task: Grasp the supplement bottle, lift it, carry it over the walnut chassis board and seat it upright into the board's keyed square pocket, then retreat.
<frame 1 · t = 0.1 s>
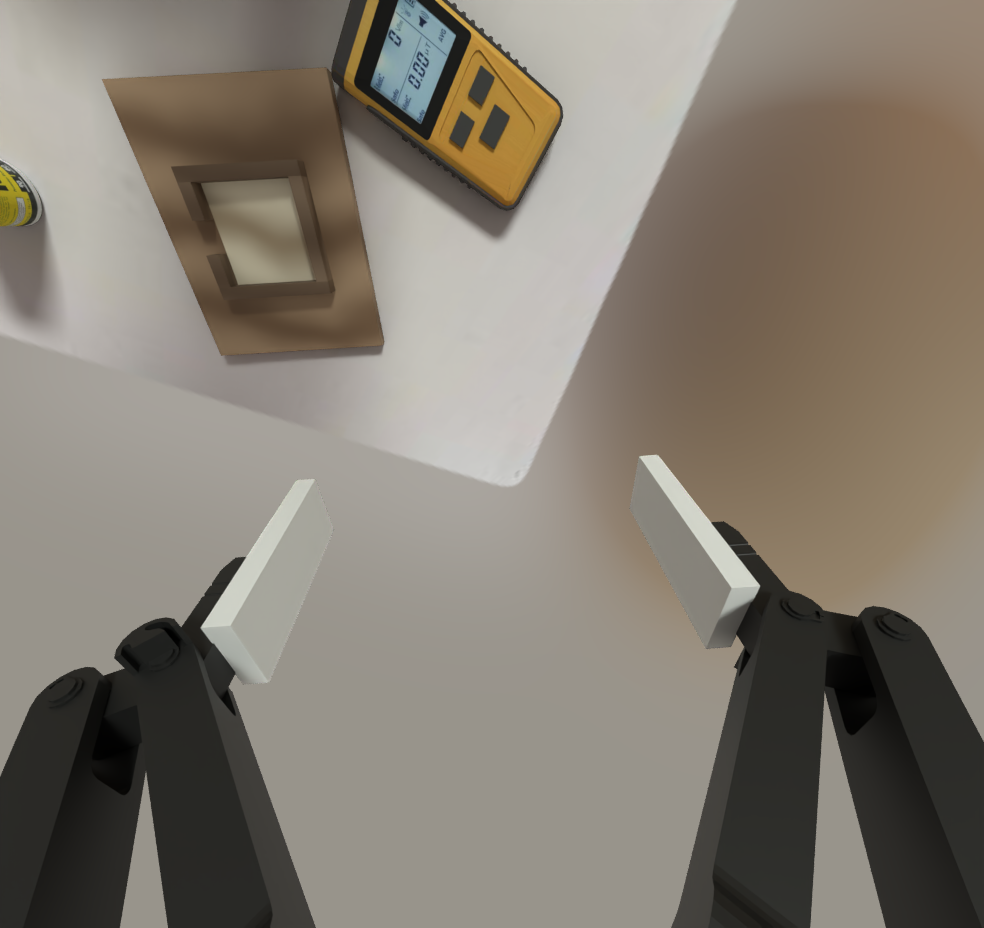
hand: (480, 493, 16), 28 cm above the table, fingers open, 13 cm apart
supplement bottle: (11, 191, 32), on the table
chassis board: (271, 233, 34), on the table
electronic device: (454, 103, 31), on the table
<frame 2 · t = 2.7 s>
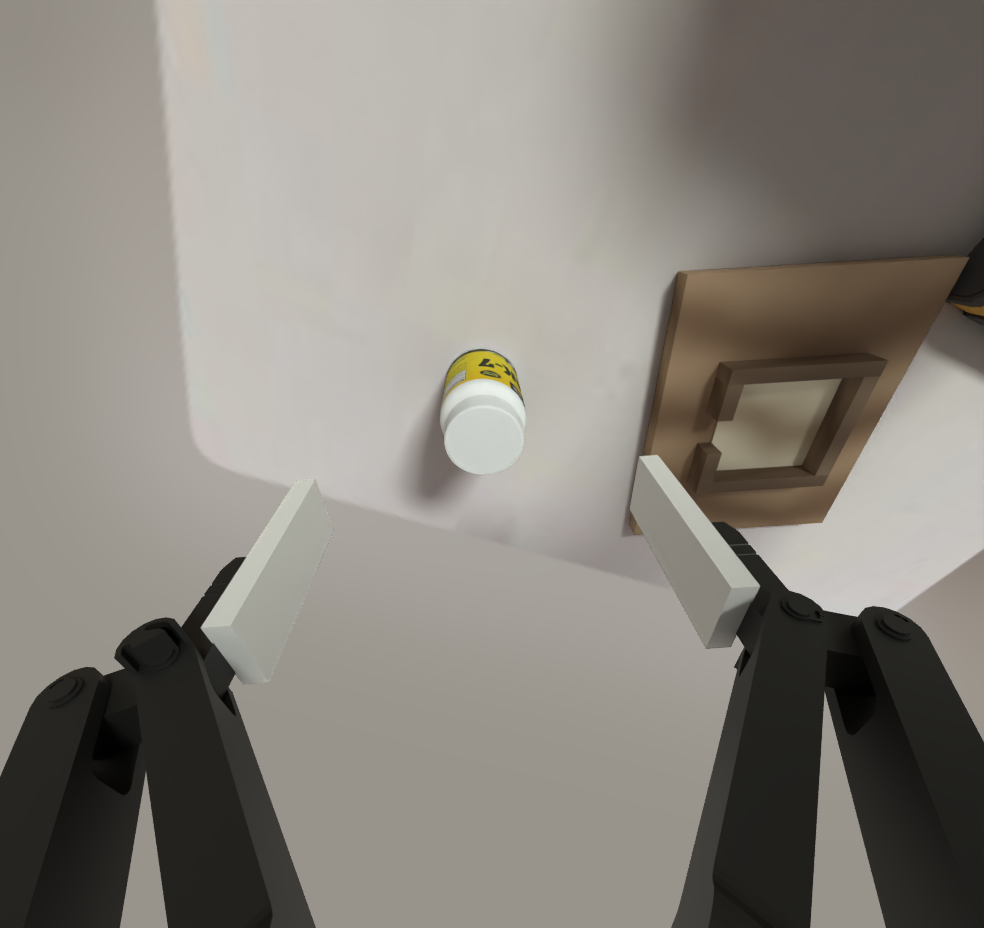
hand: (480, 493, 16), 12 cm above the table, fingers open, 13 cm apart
supplement bottle: (481, 379, 26), on the table
chassis board: (758, 416, 28), on the table
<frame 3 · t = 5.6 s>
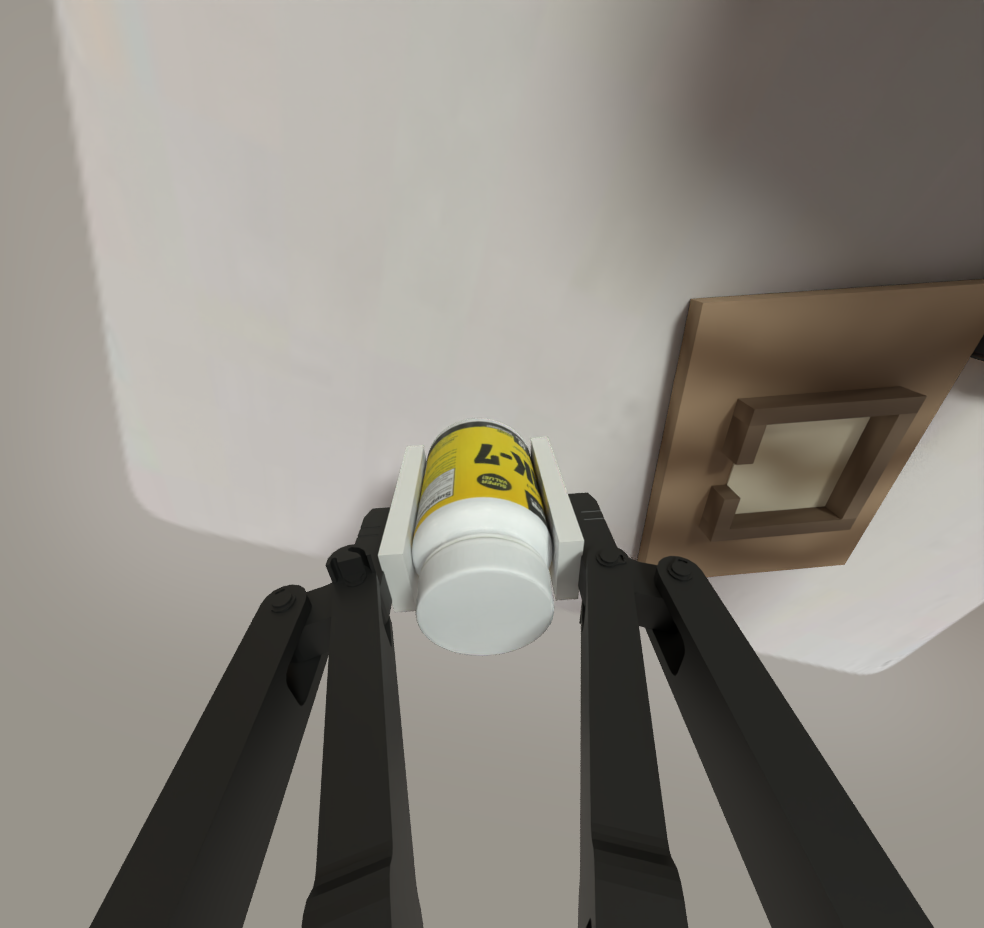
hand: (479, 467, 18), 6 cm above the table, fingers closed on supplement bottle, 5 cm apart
supplement bottle: (478, 458, 18), point 5 cm above the table, touching gripper
chassis board: (776, 453, 26), on the table
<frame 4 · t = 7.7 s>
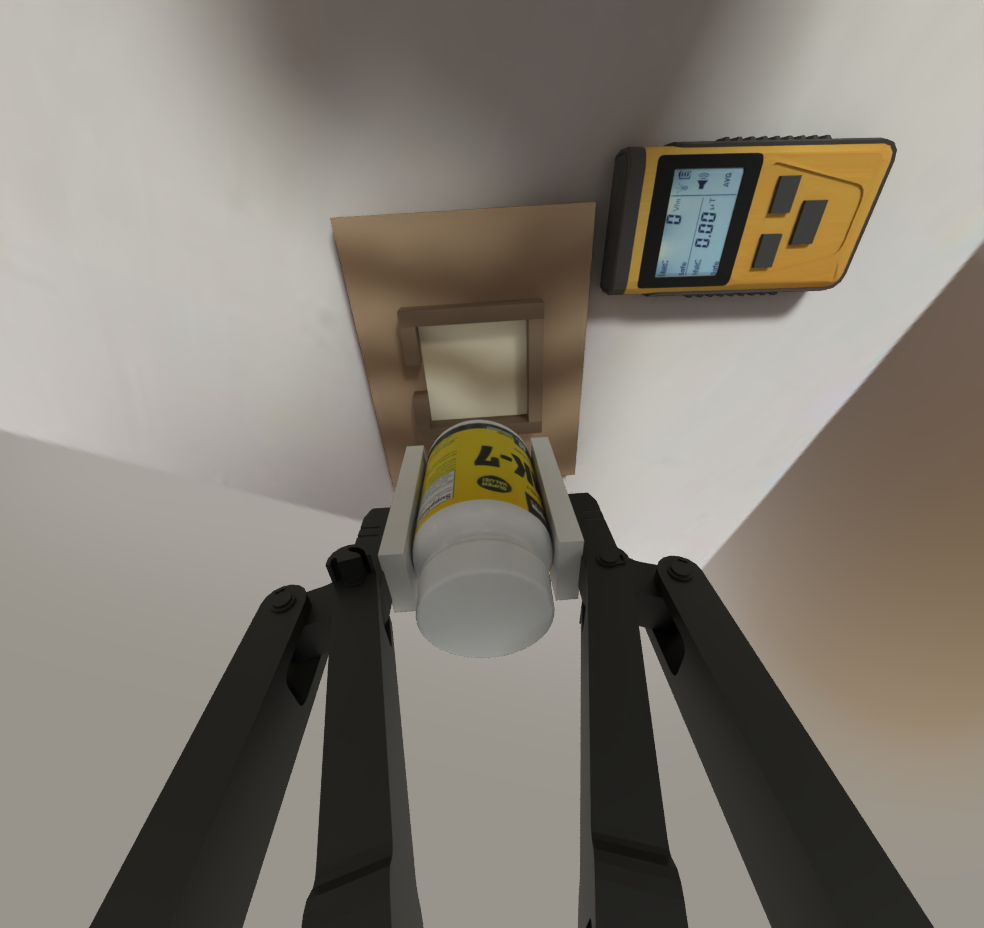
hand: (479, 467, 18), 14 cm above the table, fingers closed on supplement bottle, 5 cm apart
supplement bottle: (478, 459, 18), point 14 cm above the table, touching gripper
chassis board: (475, 365, 30), on the table
electronic device: (720, 222, 26), on the table
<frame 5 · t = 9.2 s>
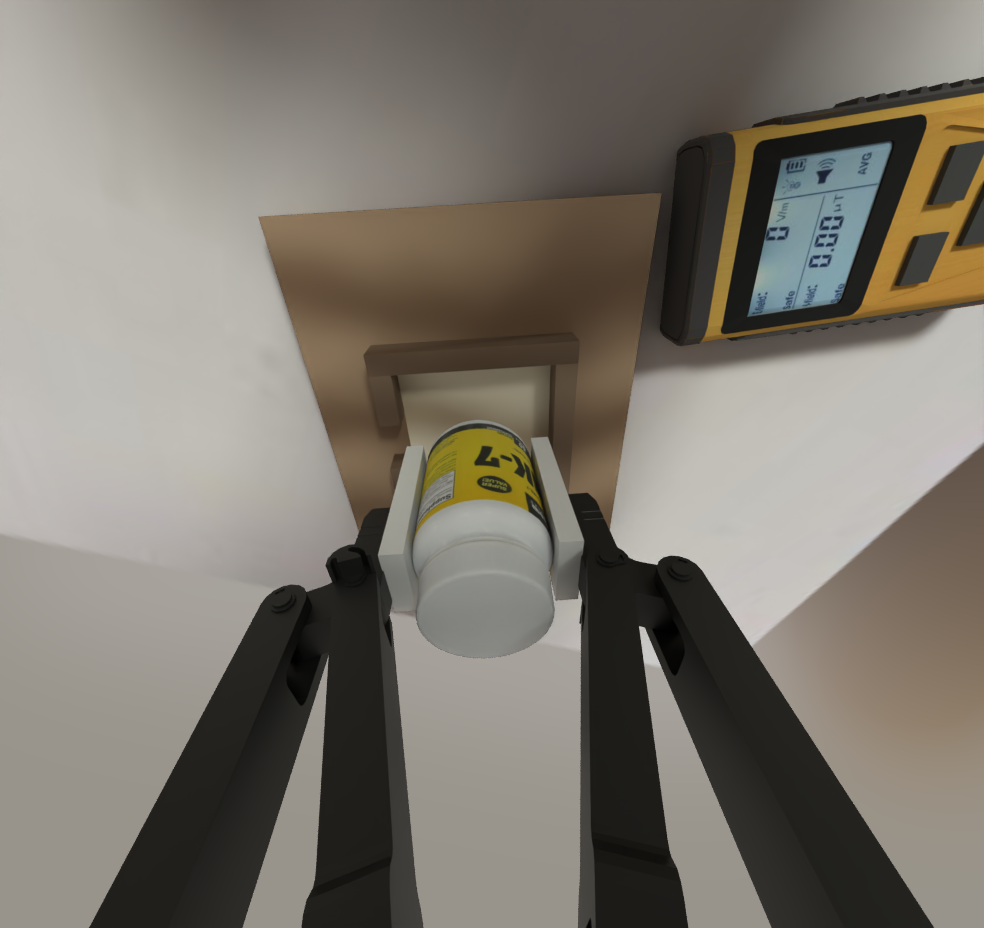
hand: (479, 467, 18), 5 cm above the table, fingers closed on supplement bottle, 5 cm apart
supplement bottle: (478, 460, 18), point 4 cm above the table, touching gripper
chassis board: (478, 418, 22), on the table
electronic device: (831, 222, 18), on the table
when the fingers open (3 cm above the table, at t = 10.3 s): supplement bottle drops 1 cm, resting on chassis board.
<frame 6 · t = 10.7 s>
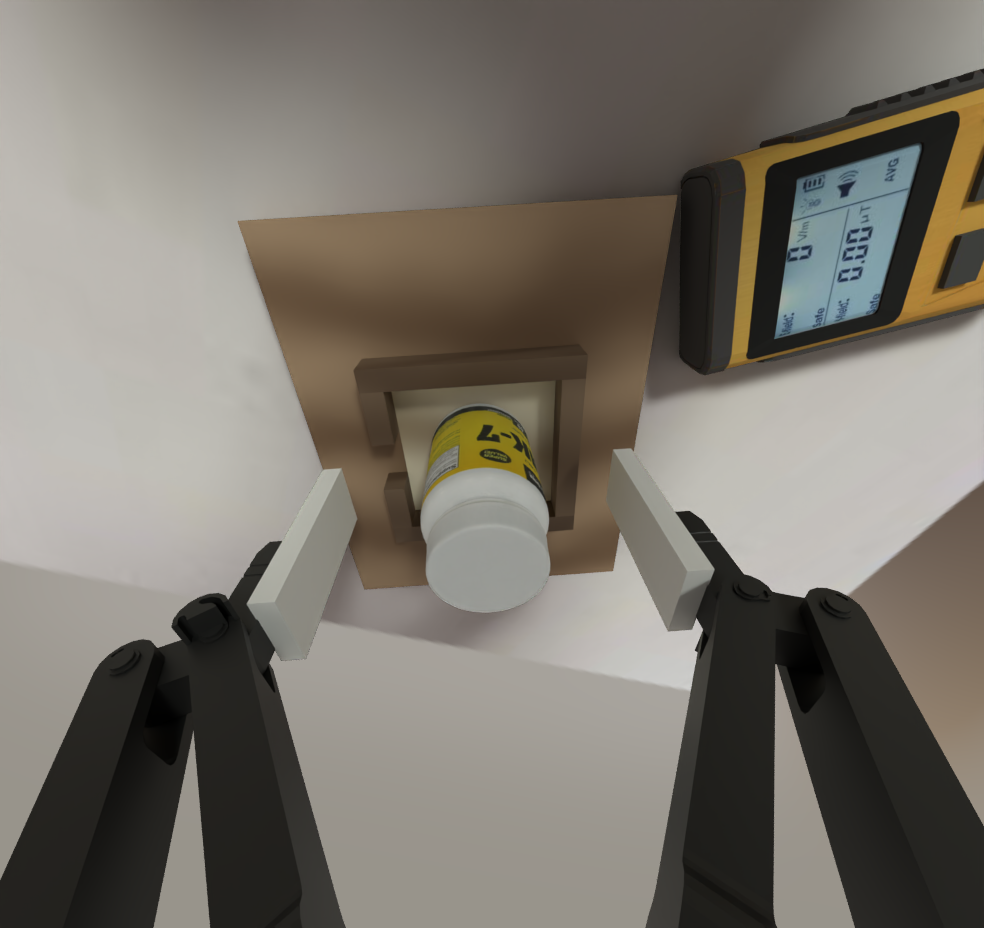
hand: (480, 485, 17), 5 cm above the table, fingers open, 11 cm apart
supplement bottle: (479, 442, 20), point 1 cm above the table, touching chassis board
chassis board: (478, 434, 21), on the table
electronic device: (857, 224, 17), on the table
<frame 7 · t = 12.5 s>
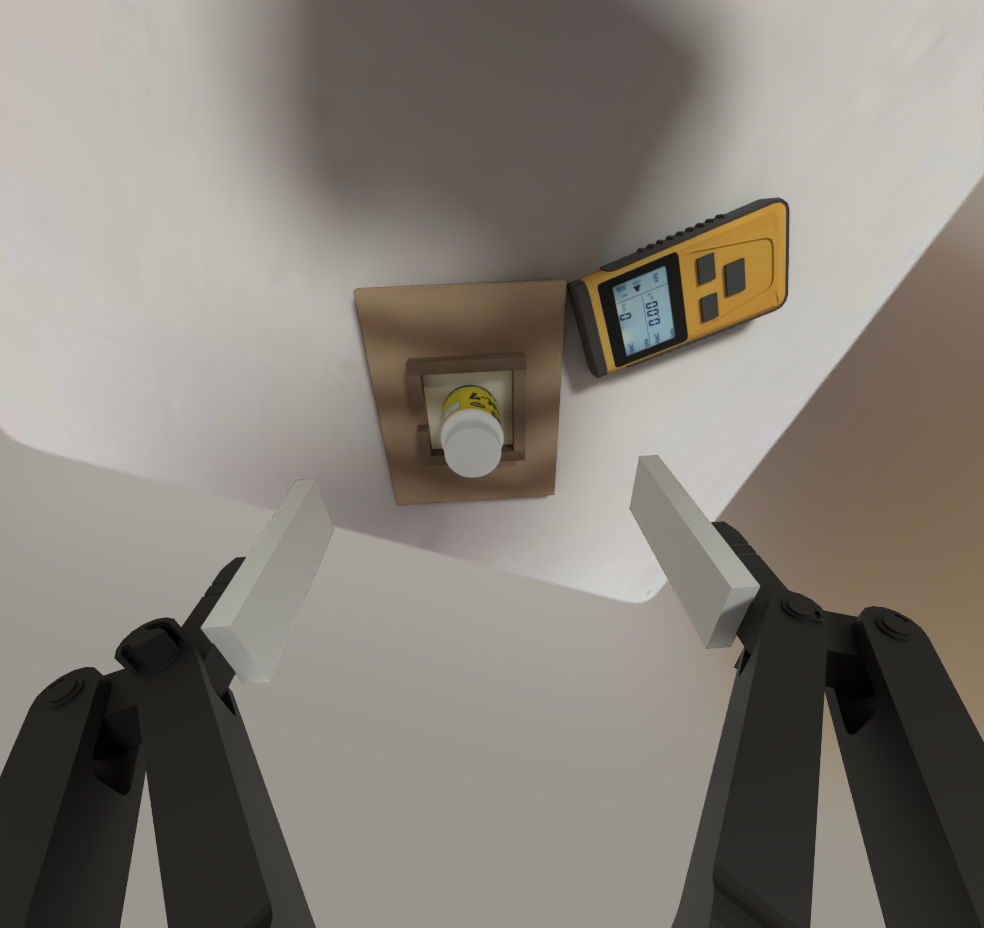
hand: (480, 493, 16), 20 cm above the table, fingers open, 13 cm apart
supplement bottle: (470, 407, 34), point 1 cm above the table, touching chassis board
chassis board: (469, 403, 35), on the table
electronic device: (667, 290, 32), on the table
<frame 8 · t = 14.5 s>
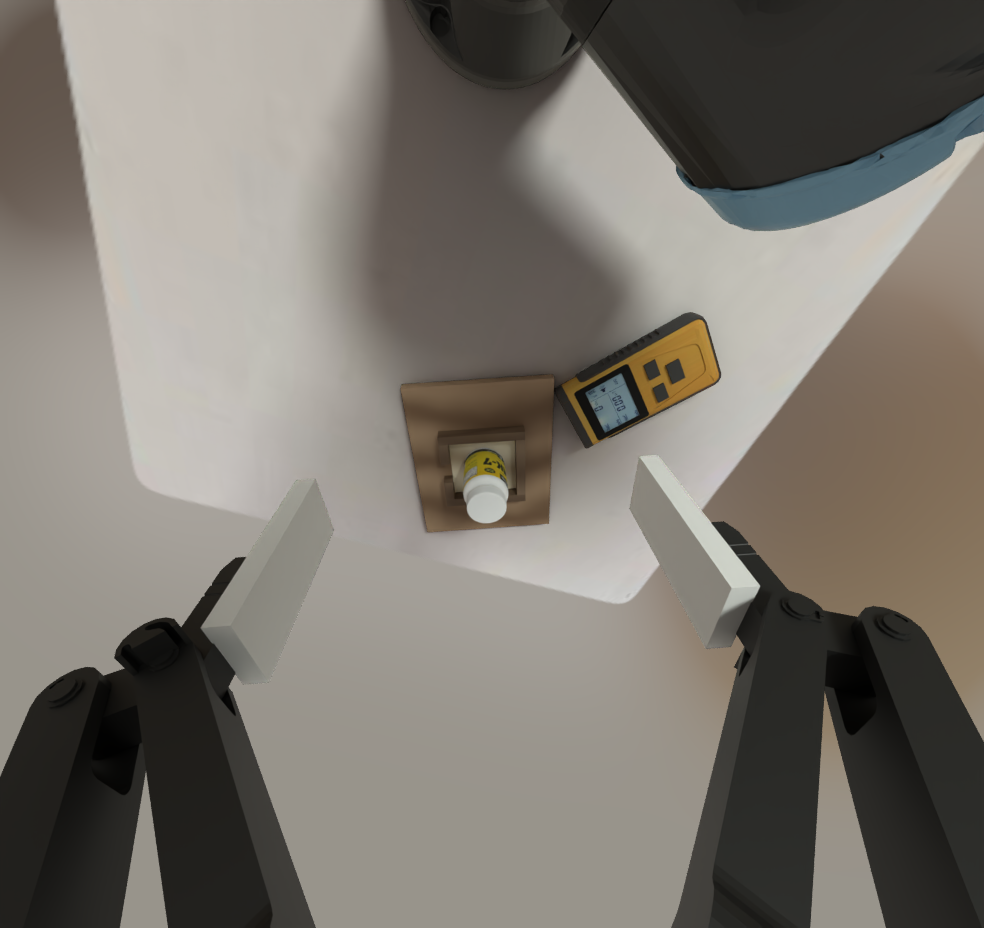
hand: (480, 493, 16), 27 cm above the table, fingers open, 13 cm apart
supplement bottle: (484, 462, 46), point 1 cm above the table, touching chassis board
chassis board: (483, 458, 47), on the table
electronic device: (630, 378, 43), on the table
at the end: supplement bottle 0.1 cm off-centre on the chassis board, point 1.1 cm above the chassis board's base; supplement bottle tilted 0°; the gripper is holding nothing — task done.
